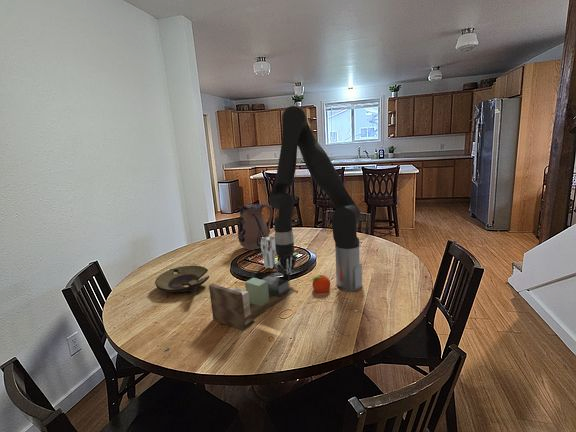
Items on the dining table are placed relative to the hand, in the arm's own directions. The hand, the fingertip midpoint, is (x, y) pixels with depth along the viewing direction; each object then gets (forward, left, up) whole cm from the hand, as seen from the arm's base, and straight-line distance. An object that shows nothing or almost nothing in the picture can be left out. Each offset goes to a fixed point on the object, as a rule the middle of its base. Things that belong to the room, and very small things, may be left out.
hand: (287, 281), depth 131 cm
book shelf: (0, +19, -2) cm, 19 cm away
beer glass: (+19, -11, -2) cm, 22 cm away
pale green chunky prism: (0, +18, -1) cm, 18 cm away
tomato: (-15, -1, -2) cm, 15 cm away
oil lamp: (+38, +24, -2) cm, 45 cm away
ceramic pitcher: (+47, -33, -2) cm, 58 cm away
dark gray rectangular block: (0, +9, -1) cm, 9 cm away
